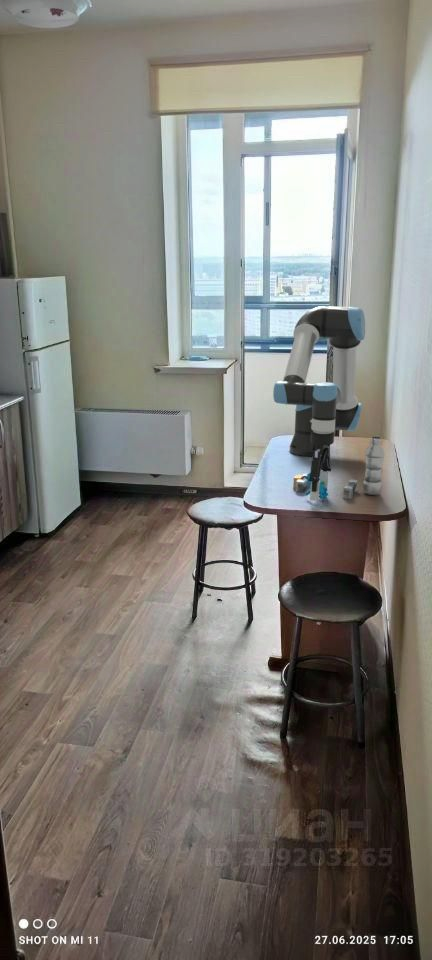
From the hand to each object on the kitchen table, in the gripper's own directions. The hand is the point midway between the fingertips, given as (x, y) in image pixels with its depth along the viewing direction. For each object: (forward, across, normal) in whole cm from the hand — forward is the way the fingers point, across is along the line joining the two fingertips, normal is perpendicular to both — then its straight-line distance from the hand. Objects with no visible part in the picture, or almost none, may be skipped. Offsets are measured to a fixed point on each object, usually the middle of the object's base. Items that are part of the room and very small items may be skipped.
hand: (318, 494), depth 227 cm
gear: (+1, 0, -1) cm, 1 cm away
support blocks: (+2, -11, 0) cm, 11 cm away
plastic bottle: (+2, -15, +15) cm, 21 cm away
